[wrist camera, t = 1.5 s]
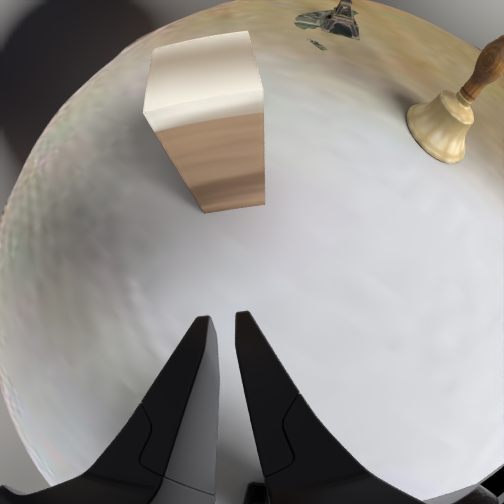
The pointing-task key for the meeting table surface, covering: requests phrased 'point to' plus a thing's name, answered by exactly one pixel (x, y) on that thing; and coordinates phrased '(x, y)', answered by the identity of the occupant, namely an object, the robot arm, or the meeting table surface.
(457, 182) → the meeting table surface
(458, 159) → the hand bell
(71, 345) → the meeting table surface
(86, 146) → the meeting table surface
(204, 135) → the wooden block
